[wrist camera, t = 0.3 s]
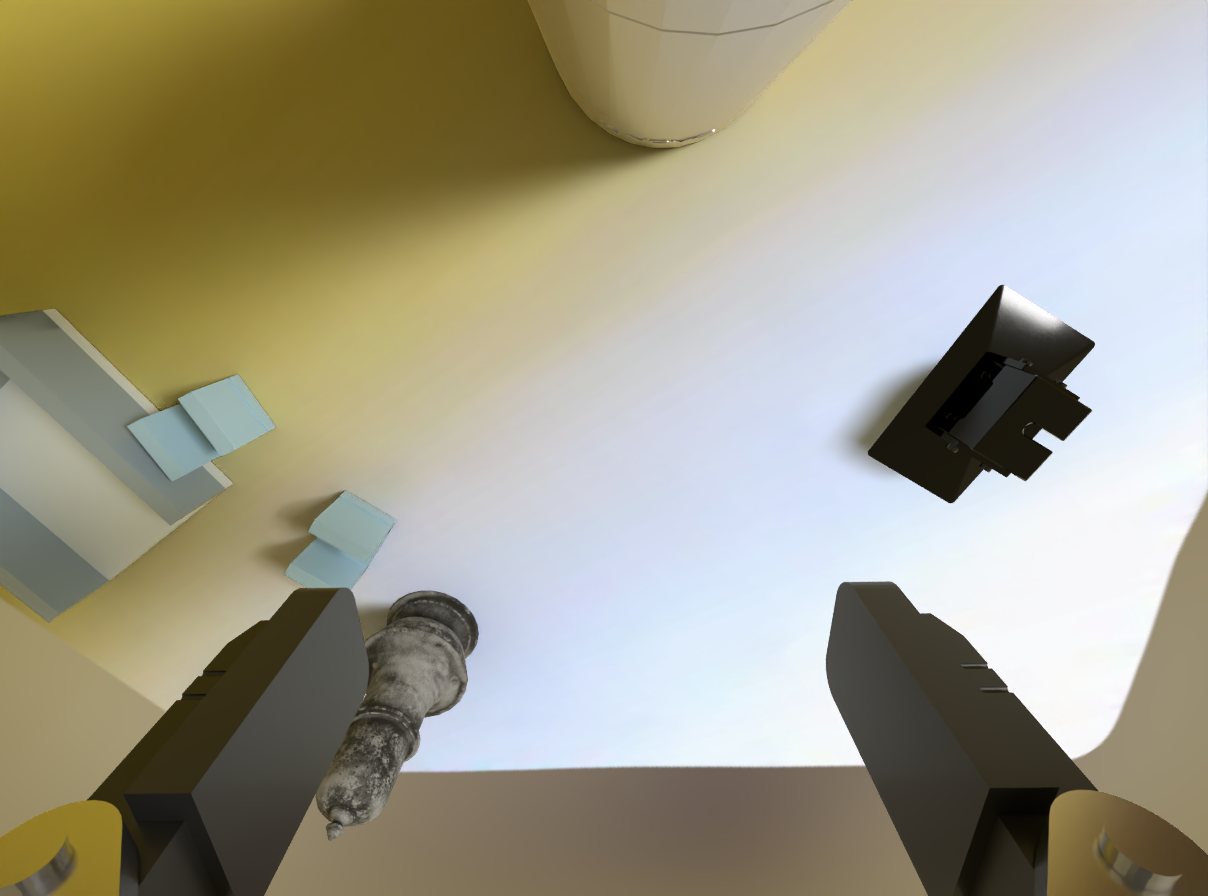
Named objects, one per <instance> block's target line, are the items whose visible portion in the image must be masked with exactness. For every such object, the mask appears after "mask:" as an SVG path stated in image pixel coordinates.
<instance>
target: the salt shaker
mask: <svg viewBox="0 0 1208 896" xmlns="http://www.w3.org/2000/svg"><path fill="white" fill-rule="evenodd" d="M478 635H479V633H478V626H477V623H476V620H475V618H474V616H473V614H472V613H471V612H470V611H469V609H468V608H467V607H466V606H465V605H464V604H462V603H461V602H460V601H458V600H457V599H456V598H453V597H451V596H449V595H447V594H444V593H440V592H435V591H418V592H414V593H410V594H408V595H406V596H404V597H402V598H400V599H399V600H398V601H397V602H396V603H395V604H394V605H393V606H392V608H391V610H390V612H389V614H388V619H387V626H386V627H385V628H383V629H381V630H380V631H379V632H377V633H375V634H373V635H372V636H370V637H369V638H368V639H367V640H366V641H365V642H364V643H365V647H366V652H367V656H368V662H369V677H368V684H367V689H366V692H365V693H366V696H365V698H364V700H363V701H362V703H361V705H360V707H359V709H358V711H357V713H356V715H355V717H354V719H353V721H352V723H351V725H350V727H349V729H348V731H347V733H346V735H345V737H344V738H343V740H342V742H341V744H340V746H339V748H338V750H337V752H336V754H335V756H334V758H333V760H332V762H331V764H330V766H329V768H328V770H327V772H326V774H325V776H324V778H323V780H322V782H321V784H320V786H319V788H318V790H317V792H316V801H317V806H318V809H319V810H320V812H321V813H322V815H324V816H325V817H326V818H327V819H328V820H329V821H331V822H332V823H330V824H328V825H327V826H326V830H327V836H328V840H330V841H331V840H332V839H334V838H336V837H337V836H338V835H341V834H343V832H344V828H343V826H359V825H363V824H365V823H368V822H369V821H371V820H372V819H374V818H375V817H376V816H378V815H379V813H380V812H381V810H382V809H383V808H384V806H385V804H386V802H387V800H388V797H389V795H390V793H391V790H392V788H393V786H394V783H395V781H396V779H397V776H398V774H399V772H400V769H401V767H402V765H403V762H405V761H408V760H409V759H410V758H412V757H413V756H414V755H415V753H416V752H417V750H418V748H419V745H420V735H419V729H420V726H421V724H422V721H423V719H424V717H430V716H435V715H439V714H441V713H444V712H446V711H448V710H450V709H451V708H453V707H454V706H455V705H456V704H457V703H458V702H459V701H460V700H461V698H462V696H463V695H464V693H465V691H466V686H467V681H468V677H467V670H466V663H465V659H466V658H467V657H468V656H469V655H470V654H471V653H472V651H473V650H474V648H475V646H476V644H477V640H478Z"/></svg>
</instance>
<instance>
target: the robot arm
mask: <svg viewBox="0 0 1208 896" xmlns="http://www.w3.org/2000/svg"><path fill="white" fill-rule="evenodd" d="M527 1H528V3H529V6H530V8H531V10H532V13H533V15H534V17H535V20H536V22H537V24H538V27H539V29H540V31H541V33H542V36H543V39H544V41H545V44H546V46H547V48H548V50H549V53H550V55H551V57H552V60H553V62H554V64H555V66H556V69H557V71H558V73H559V75H560V77H561V79H562V81H563V82H564V84H565V86H566V88H567V90H568V92H569V94H570V95H571V97H572V98H573V100H574V101H575V102H576V103H577V104H578V106H579V107H580V108H581V109H582V110H583V112H584V113H585V114H586V115H587V116H588V118H590V119H591V120H592V121H593V122H595V123H596V124H597V125H599V126H600V127H601V128H602V129H604V130H605V131H606V132H608V133H609V134H611V135H613V136H616V137H618V138H620V139H622V140H624V141H626V142H628V143H631V144H636V145H641V146H646V147H651V148H669V147H680V146H684V145H687V144H691V143H695V142H698V141H702V140H703V139H705V138H707V137H709V136H711V135H713V134H715V133H717V132H718V131H720V130H722V129H724V128H725V127H726V126H728V125H729V124H730V123H731V122H732V121H734V120H735V119H736V118H737V117H738V116H740V115H741V114H742V113H743V112H744V111H745V110H746V109H747V108H748V107H749V106H750V105H751V104H752V103H753V102H754V101H755V100H756V99H757V98H758V97H759V96H760V95H761V94H762V93H763V92H764V91H765V90H766V89H767V88H768V87H769V86H770V85H771V84H772V83H773V82H774V81H775V80H776V79H777V78H778V77H779V76H780V75H781V74H782V73H783V72H784V71H785V70H786V69H787V68H788V67H789V66H790V65H791V64H792V63H793V62H794V60H795V59H796V58H797V57H798V56H799V55H800V54H801V53H802V52H803V51H804V50H805V49H806V48H807V47H808V46H809V45H810V44H811V43H812V42H813V41H814V40H815V39H816V38H817V37H818V36H819V35H820V34H821V33H822V32H823V30H824V29H825V28H826V27H827V26H828V25H829V24H830V23H831V22H832V21H833V20H834V19H835V18H836V17H837V16H838V15H839V14H840V13H841V12H842V11H843V10H844V9H845V8H846V7H847V6H848V5H849V4H850V3H851V2H852V0H527ZM826 672H827V679H828V684H829V688H830V691H831V694H832V696H833V699H834V701H835V703H836V705H837V707H838V709H839V711H840V713H841V715H842V718H843V720H844V722H845V724H846V726H847V728H848V730H849V732H850V734H851V736H852V738H853V740H854V743H855V745H856V747H857V749H858V751H859V753H860V755H861V757H862V759H863V761H864V763H865V765H866V767H867V769H868V772H869V774H870V776H871V778H872V780H873V782H874V784H875V786H876V788H877V790H878V792H879V795H880V797H881V799H882V801H883V803H884V805H885V807H886V809H887V811H888V813H889V815H890V817H891V819H892V821H893V824H894V825H895V828H896V830H897V832H898V834H899V836H900V838H901V840H902V842H903V844H904V847H905V849H906V851H907V853H908V855H909V857H910V859H911V861H912V863H913V865H914V867H915V869H916V871H917V873H918V876H919V878H920V880H921V882H922V884H923V886H924V888H925V890H926V892H927V894H928V896H1208V855H1207V853H1206V852H1205V851H1203V850H1202V849H1201V848H1200V847H1199V846H1198V845H1197V844H1196V843H1195V842H1194V841H1193V840H1191V839H1190V838H1189V837H1188V836H1187V835H1185V834H1184V833H1183V832H1181V831H1180V830H1179V829H1178V828H1176V827H1175V826H1173V825H1172V824H1170V823H1169V822H1167V821H1166V820H1164V819H1163V818H1161V817H1160V816H1158V815H1156V814H1154V813H1153V812H1151V811H1149V810H1147V809H1146V808H1143V807H1141V806H1139V805H1137V804H1135V803H1133V802H1131V801H1128V800H1126V799H1123V798H1121V797H1118V796H1114V795H1111V794H1108V793H1104V792H1099V791H1098V790H1097V789H1096V788H1095V787H1094V786H1093V784H1092V783H1091V782H1090V781H1089V780H1088V778H1087V777H1086V776H1085V775H1084V774H1083V773H1082V772H1081V770H1080V769H1079V768H1078V767H1077V766H1076V765H1075V764H1074V762H1073V761H1072V760H1071V759H1070V758H1069V757H1068V755H1067V754H1066V753H1065V752H1064V751H1063V750H1062V749H1061V747H1060V746H1059V745H1058V744H1057V743H1056V742H1055V740H1054V739H1053V738H1052V737H1051V736H1050V735H1049V734H1048V732H1047V731H1046V730H1045V729H1044V728H1043V727H1042V726H1041V724H1040V723H1039V722H1038V721H1037V720H1036V719H1035V717H1034V716H1033V715H1032V714H1031V713H1030V712H1029V711H1028V709H1027V708H1026V707H1025V706H1024V705H1023V704H1022V703H1021V701H1020V700H1019V699H1018V698H1017V697H1016V696H1015V694H1014V693H1009V692H1008V689H1007V687H1008V686H1007V685H1006V684H1005V683H1004V682H1003V681H1002V679H1001V678H1000V677H999V676H998V675H997V674H996V673H995V671H994V670H993V669H989V668H988V666H987V662H986V661H985V660H984V659H983V658H982V656H981V655H980V654H979V653H978V652H977V651H976V650H975V648H974V647H973V646H972V645H971V644H970V643H969V642H968V640H967V639H966V638H965V637H964V636H963V635H962V634H960V633H959V632H957V631H956V630H954V629H953V628H951V627H950V626H948V625H947V624H945V623H944V622H943V621H941V620H940V619H938V618H937V617H935V616H934V615H932V614H931V613H927V614H920V613H919V612H918V611H917V609H916V608H915V607H914V606H913V604H912V603H911V602H910V601H909V599H908V598H907V597H906V596H905V595H904V593H903V592H902V591H901V590H900V588H899V587H898V586H897V585H896V584H894V583H893V582H844V583H842V584H841V585H840V586H839V588H838V591H837V595H836V601H835V607H834V613H833V619H832V625H831V631H830V637H829V642H828V648H827V655H826ZM368 677H369V662H368V656H367V652H366V647H365V643H364V638H363V634H362V629H361V625H360V620H359V616H358V611H357V607H356V602H355V598H354V595H353V593H352V592H351V590H350V589H348V588H299V589H297V590H295V591H294V592H293V593H292V594H291V595H290V596H289V597H288V599H287V600H286V601H285V602H284V603H283V604H282V606H281V607H280V608H279V609H278V610H277V612H276V613H275V614H274V615H273V616H272V618H271V619H270V620H265V621H260V622H258V623H257V624H255V625H254V626H252V627H251V628H249V629H248V630H247V631H245V632H244V633H242V634H241V635H239V636H238V637H236V638H235V639H233V640H232V641H230V642H229V643H228V644H227V645H226V646H225V647H224V648H223V649H222V650H221V651H220V653H219V654H218V655H217V656H216V657H215V658H214V659H213V660H212V661H211V663H210V664H209V665H208V666H207V667H206V668H205V669H204V670H203V675H202V676H198V677H197V678H196V679H195V680H194V682H193V683H192V684H191V685H190V686H189V687H188V688H187V689H186V690H185V692H184V693H183V694H182V699H181V700H177V701H176V702H175V703H174V704H173V705H172V706H171V707H170V708H169V709H168V711H167V712H166V713H165V714H164V715H163V716H162V717H161V718H160V720H159V721H158V722H157V723H156V724H155V725H154V726H153V727H152V728H151V730H150V731H149V732H148V733H147V734H146V735H145V736H144V737H143V739H142V740H141V741H140V742H139V743H138V744H137V745H136V746H135V747H134V749H133V750H132V751H131V752H130V753H129V754H128V755H127V757H126V758H125V759H124V760H123V761H122V762H121V763H120V764H119V765H118V766H117V768H116V769H115V770H114V771H113V772H112V773H111V774H110V775H109V776H108V778H107V779H106V780H105V781H104V782H103V783H102V784H101V785H100V786H99V788H98V789H97V790H96V791H95V792H94V793H93V795H92V796H91V797H89V799H88V800H87V801H80V802H75V803H70V804H67V805H64V806H61V807H57V808H55V809H52V810H50V811H48V812H45V813H42V814H40V815H38V816H36V817H34V818H32V819H30V820H28V821H26V822H25V823H23V824H21V825H19V826H18V827H16V828H14V829H13V830H11V831H10V832H8V833H7V834H5V835H4V836H2V837H1V838H0V896H264V895H265V893H266V891H267V889H268V887H269V884H270V883H271V880H272V879H273V877H274V875H275V873H276V871H277V869H278V867H279V865H280V863H281V861H282V859H283V857H284V855H285V853H286V851H287V849H288V847H289V845H290V843H291V841H292V839H293V837H294V835H295V833H296V831H297V829H298V827H299V825H300V823H301V821H302V819H303V817H304V816H305V814H306V811H307V809H308V807H309V806H310V804H311V802H312V799H313V798H314V796H315V794H316V792H317V790H318V788H319V786H320V784H321V782H322V780H323V778H324V776H325V774H326V772H327V770H328V768H329V766H330V764H331V762H332V760H333V758H334V756H335V754H336V752H337V750H338V748H339V746H340V744H341V742H342V740H343V738H344V737H345V735H346V733H347V731H348V729H349V727H350V725H351V723H352V721H353V719H354V717H355V715H356V713H357V711H358V709H359V707H360V705H361V703H362V701H363V698H364V696H365V692H366V689H367V684H368Z"/></svg>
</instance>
